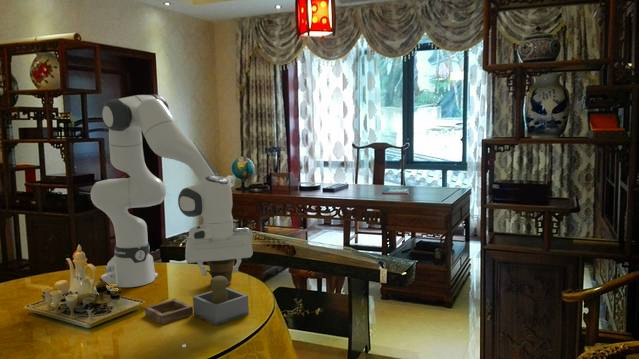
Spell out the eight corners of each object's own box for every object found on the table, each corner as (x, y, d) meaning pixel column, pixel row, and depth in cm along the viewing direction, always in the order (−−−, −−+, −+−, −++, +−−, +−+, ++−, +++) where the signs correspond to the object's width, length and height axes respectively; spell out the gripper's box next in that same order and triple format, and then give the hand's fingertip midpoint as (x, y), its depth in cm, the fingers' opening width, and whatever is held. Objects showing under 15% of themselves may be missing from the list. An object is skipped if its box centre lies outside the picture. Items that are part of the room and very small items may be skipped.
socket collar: (145, 315, 160) (145, 307, 160) (175, 306, 168) (175, 298, 167) (162, 324, 153) (162, 316, 153) (192, 314, 160) (192, 306, 160)
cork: (232, 312, 158) (231, 278, 156) (213, 316, 156) (211, 282, 154) (227, 305, 164) (225, 272, 162) (208, 308, 161) (206, 275, 159)
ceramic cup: (235, 277, 196) (234, 252, 195) (236, 286, 186) (235, 259, 185) (200, 280, 194) (199, 254, 192) (199, 288, 184) (198, 261, 183)
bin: (193, 315, 160) (192, 296, 159) (225, 304, 168) (225, 286, 168) (216, 325, 151) (215, 306, 151) (248, 314, 160) (248, 295, 159)
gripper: (250, 225, 163) (252, 267, 165) (184, 229, 157) (185, 273, 159) (254, 229, 157) (255, 273, 159) (184, 234, 151) (186, 280, 153)
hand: (220, 273), depth 159 cm, fingers open, 8 cm apart
